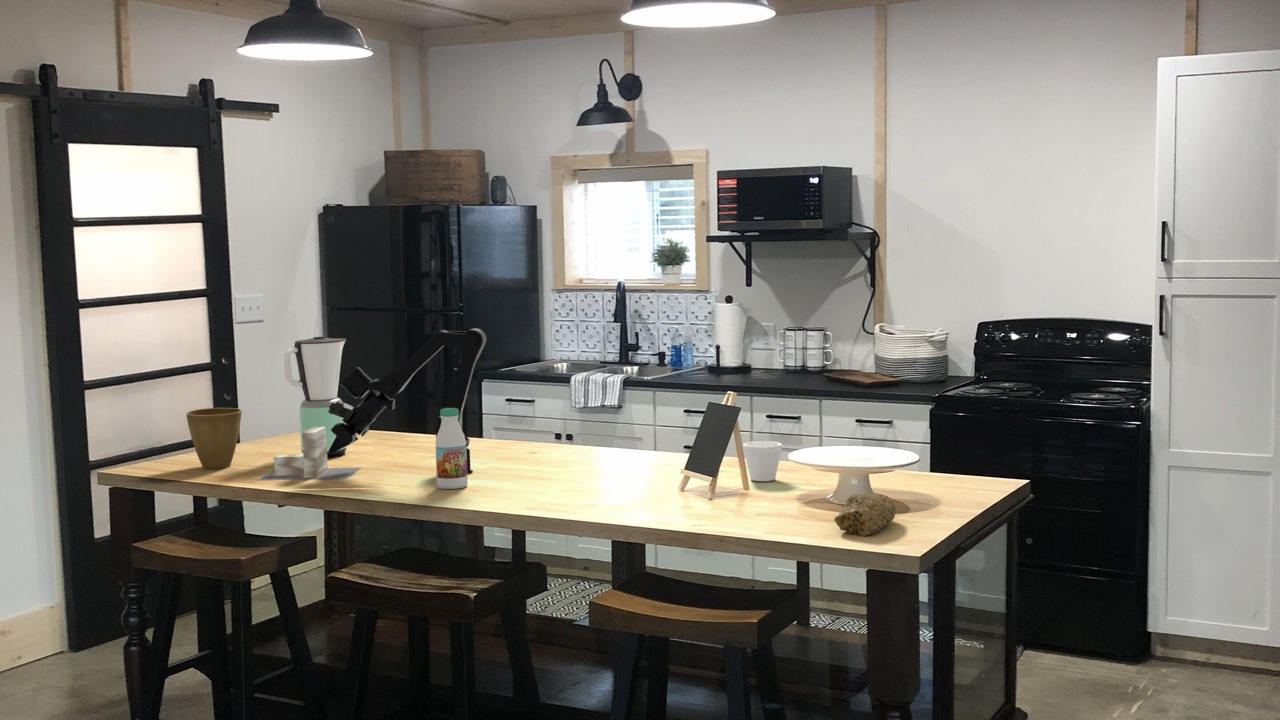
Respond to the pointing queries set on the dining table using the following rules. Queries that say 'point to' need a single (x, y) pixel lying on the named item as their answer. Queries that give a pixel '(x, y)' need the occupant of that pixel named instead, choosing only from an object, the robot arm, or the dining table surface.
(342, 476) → the mat
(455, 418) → the milk bottle
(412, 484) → the dining table surface
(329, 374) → the blender
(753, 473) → the cup
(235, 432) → the plant pot
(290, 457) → the l block
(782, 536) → the dining table surface
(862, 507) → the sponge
